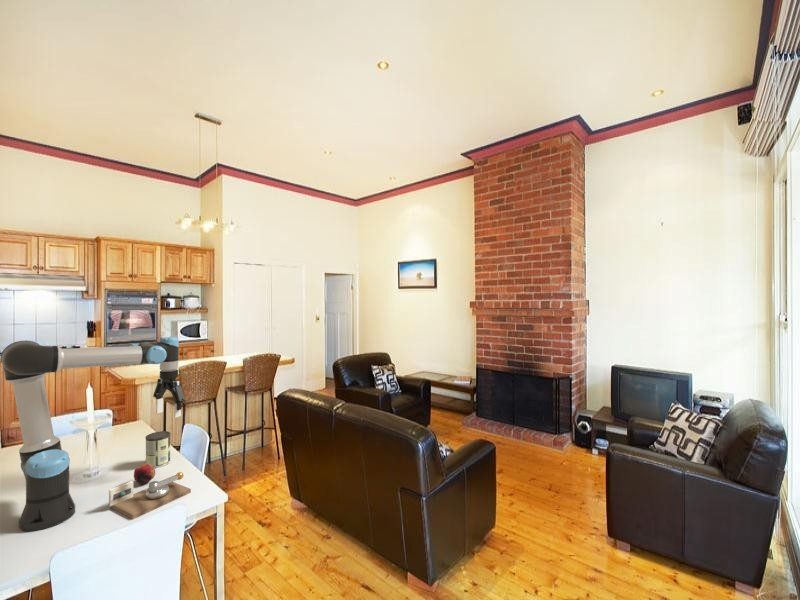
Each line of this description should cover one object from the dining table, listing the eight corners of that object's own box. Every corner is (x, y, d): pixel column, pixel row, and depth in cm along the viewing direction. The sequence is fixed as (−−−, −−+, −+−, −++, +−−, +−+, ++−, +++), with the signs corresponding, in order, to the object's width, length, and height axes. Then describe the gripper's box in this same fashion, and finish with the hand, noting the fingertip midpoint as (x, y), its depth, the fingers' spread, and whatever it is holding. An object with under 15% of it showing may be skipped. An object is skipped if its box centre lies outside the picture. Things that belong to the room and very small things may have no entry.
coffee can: (155, 458, 192) (156, 430, 192) (175, 459, 191) (175, 431, 191) (140, 467, 181) (140, 438, 181) (160, 468, 180) (160, 439, 180)
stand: (130, 520, 139) (130, 500, 139) (107, 508, 146) (107, 489, 146) (190, 492, 159) (190, 474, 159) (168, 483, 167) (168, 466, 167)
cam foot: (152, 501, 149) (152, 488, 149) (141, 496, 152) (141, 483, 152) (188, 485, 161) (188, 473, 161) (177, 480, 165) (177, 468, 165)
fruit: (156, 477, 172) (157, 460, 172) (152, 485, 164) (152, 467, 164) (136, 480, 169) (136, 462, 169) (131, 488, 162) (131, 470, 162)
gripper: (193, 371, 178) (193, 416, 178) (160, 366, 189) (160, 408, 190) (178, 373, 172) (177, 420, 172) (145, 368, 183) (144, 412, 183)
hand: (168, 414), depth 181 cm, fingers open, 13 cm apart
